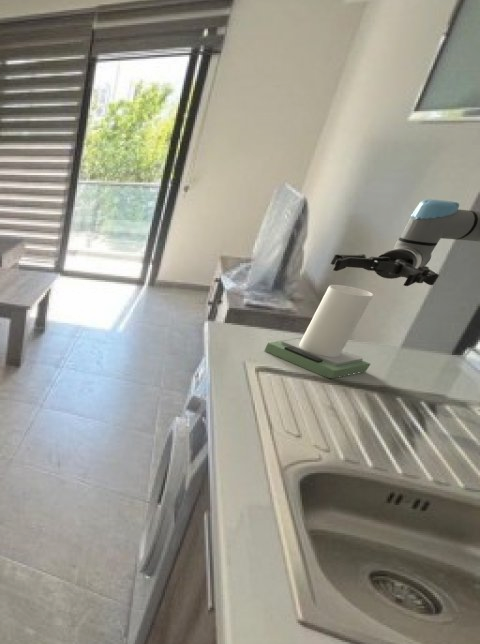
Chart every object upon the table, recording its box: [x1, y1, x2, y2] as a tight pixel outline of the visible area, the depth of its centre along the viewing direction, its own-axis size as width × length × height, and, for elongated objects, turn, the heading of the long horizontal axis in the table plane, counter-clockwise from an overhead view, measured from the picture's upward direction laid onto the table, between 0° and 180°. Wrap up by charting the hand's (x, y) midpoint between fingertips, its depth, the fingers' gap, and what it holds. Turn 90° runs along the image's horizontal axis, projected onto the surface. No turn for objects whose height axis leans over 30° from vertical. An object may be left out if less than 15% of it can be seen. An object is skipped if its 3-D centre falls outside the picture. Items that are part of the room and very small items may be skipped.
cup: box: [299, 284, 374, 357], centre depth 119 cm, size 8×8×16 cm
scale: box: [263, 337, 371, 379], centre depth 123 cm, size 16×14×3 cm
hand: (371, 272), depth 118 cm, fingers open, 13 cm apart
